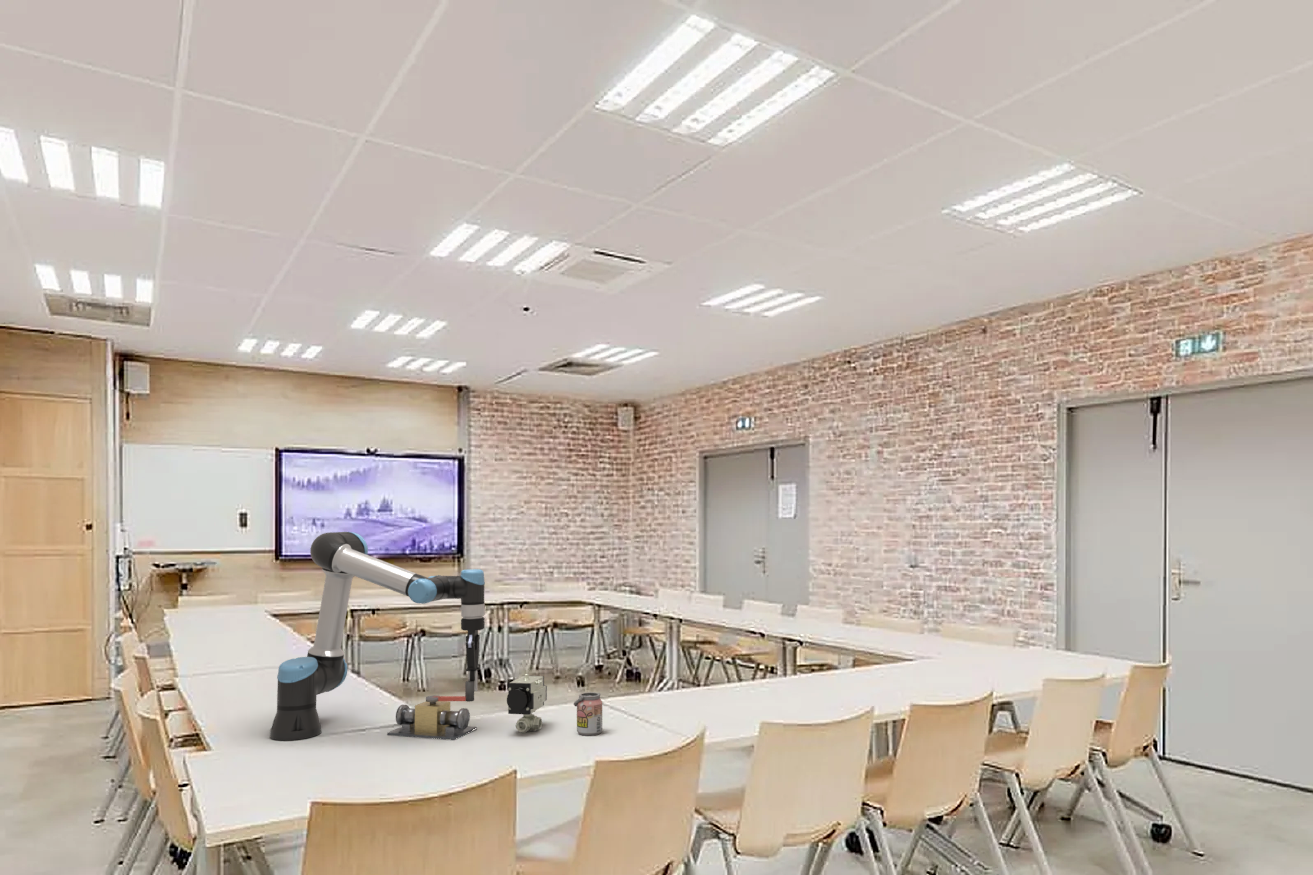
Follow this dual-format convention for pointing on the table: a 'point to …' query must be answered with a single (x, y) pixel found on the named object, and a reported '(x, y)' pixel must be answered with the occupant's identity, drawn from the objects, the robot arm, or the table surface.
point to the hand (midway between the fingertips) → (472, 690)
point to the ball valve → (527, 701)
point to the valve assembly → (432, 721)
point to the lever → (468, 696)
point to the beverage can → (589, 714)
